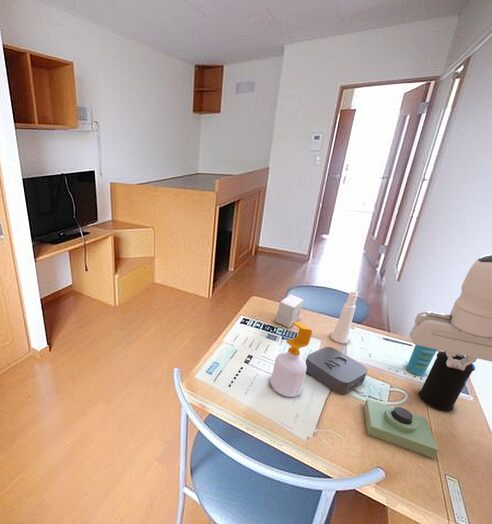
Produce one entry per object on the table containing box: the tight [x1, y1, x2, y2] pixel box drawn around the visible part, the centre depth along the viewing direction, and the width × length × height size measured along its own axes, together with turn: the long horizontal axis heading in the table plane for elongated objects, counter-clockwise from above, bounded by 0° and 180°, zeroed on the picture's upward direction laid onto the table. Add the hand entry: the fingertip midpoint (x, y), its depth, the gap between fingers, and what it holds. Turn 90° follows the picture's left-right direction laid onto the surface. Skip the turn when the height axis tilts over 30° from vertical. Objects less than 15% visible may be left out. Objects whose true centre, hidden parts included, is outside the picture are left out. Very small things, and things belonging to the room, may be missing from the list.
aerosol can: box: [417, 351, 476, 412], centre depth 92 cm, size 8×8×20 cm
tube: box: [406, 344, 438, 376], centre depth 104 cm, size 7×5×19 cm, turn 81°
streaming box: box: [305, 346, 368, 395], centre depth 104 cm, size 14×14×5 cm
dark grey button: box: [392, 406, 413, 424], centre depth 84 cm, size 4×4×2 cm
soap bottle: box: [270, 321, 313, 398], centre depth 95 cm, size 9×9×25 cm
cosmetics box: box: [274, 294, 304, 329], centre depth 134 cm, size 10×6×10 cm, turn 132°
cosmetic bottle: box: [330, 289, 359, 344], centre depth 120 cm, size 6×6×22 cm
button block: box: [363, 398, 439, 459], centre depth 85 cm, size 14×11×5 cm
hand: (454, 367), depth 76 cm, fingers closed
